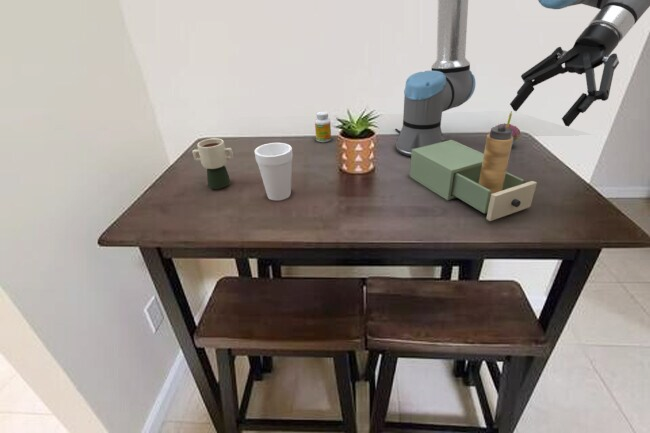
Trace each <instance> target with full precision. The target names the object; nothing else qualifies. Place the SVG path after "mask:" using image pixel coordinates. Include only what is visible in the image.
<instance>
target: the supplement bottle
mask: <svg viewBox="0 0 650 433" xmlns="http://www.w3.org/2000/svg"><path fill="white" fill-rule="evenodd" d="M314 128H315V130H314V131H315V140H316V142H318V143H327V142H328V143H329V142H330V141H331V140H332V132H331V131H332V128H331V119H330V118H329V112H328V111H323V110H322V111H317V112H316V119H315V121H314Z"/></svg>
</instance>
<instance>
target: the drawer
mask: <svg viewBox="0 0 650 433" xmlns="http://www.w3.org/2000/svg"><path fill="white" fill-rule="evenodd" d="M481 167H482V165H480V166H477V167H473V168H470V169H466V170H463V171H459V172H456V173H454V176H453V183H452V190H451V194H452V195H454V196H456V197H457V198H456V199H459V200H461V201H462V202H464V203H466V204H468V205H469V206H471V207H473V208H474V209H475V210H477V211H479V212H481V213H483V214H485V215H486V217H485V218H486V220H487V221H489V222H492V221H494V220H498V219H500V218H504V217H507V216H508V215H513V214H514V213H518V212H521V211H523V210H525V209H529V208H531V206H532V203H533V199H534V194H535V193H536V192H535V191H536V187H537V184H538V183H537V181H534V180H530V181H527V182H525V179H523V178H521V177H519V176H516V175H514V174H512V173H510V172H508V171H506V174H505V179H504V184H503V188H502V191H499V192H496V193H493V194H491V190H489V189H487V188H485V187H483V186H481V185H480V184H478V183H479V178H480V172H481ZM490 195H491V198H490ZM489 200H490V202H489Z"/></svg>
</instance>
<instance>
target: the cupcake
mask: <svg viewBox="0 0 650 433" xmlns="http://www.w3.org/2000/svg"><path fill="white" fill-rule="evenodd" d="M512 116H513V113H512V111H510V113H509V115H508V118H507V122H506V123H499V124H497V125H495V126H494V127H497V126H500V125H504V126H505V127H508V128H510V129H512V136H513V143H512V145H514V143H515V141H516V140H517V139H519V138H520V137H521V130H520V129H519V128H518V126H516V125H513V124H511V121H512V120H511V119H512Z"/></svg>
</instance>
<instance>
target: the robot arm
mask: <svg viewBox="0 0 650 433" xmlns="http://www.w3.org/2000/svg"><path fill="white" fill-rule="evenodd" d="M537 1H538V3H539V5H541V7H543V8H545V9H551V10H562V9H565V8H567V7H573V6H577V5H584V6H588V7H591V8H595V9H598V10H599V11H598V13H597V14H596V15H595V16H594V17H593V18H592V19H591V21H590V22H589V23H588V24H587V26H586V27H585V29H584V30H583V31H582V32H581V34H579V36H578V37H577V38H576V40H575V41H574V44H573V46H572V47H571V48H570V49H568V50H564V49H563V47H562V46H558V47H556V49H554V50H553V51H552V52H551V54H549V55H547V56H546V57H545V58H543V59H542V60H540V61H539V62H538V63H537V64H535V65H534V66H532V67H531V68H529V69H528V70H526V71H525V72H523V73H522V74H521V75H520V78H521V79H522V81H523V84H522V85H521V86H520V87H519V89H518V90H517V92H516V96H515V97H514V98H513V99H512V101H511V102H510V103H509V105H510V107H511V108H512V110H513V112H517V111H519V109H520V108H521V107H522V106H523V104H524V103H525V102H526V100H527V99H528V98H529V97H530V95H531V94H532V93H533V92H534V90H535V86H537V85H540V84H541V83H543V82H546V81H548V80H550V79H552V78H554V77H556V76H558V75H560V74H561V75H564V74H565V73H569V74H570V73H571V74H575V73H576V74H577V75H583V74H585V81H586V82H585V83H586V89H587V90H586V91H587V93H584V92H582V93H581V95H579V97H578V98H577V99H576V100H575V102H574V103H573V104H572V105H571V107H570V108H569V109H568V110H567V111H566V113H565V114H564V115H563V117H561V120H562V122H563V124H564V126H565V127H570V126H571V124H573V122H574V121H575V120H576V119H577V117H578V116H579V115H580V114H581V113H582V114H584V113H585V112H587V111H588V109H589V108H591V106H592V104H594V102H596V101H600V100H601V101H602V102H604V101H607V100H609V96H610V93H611V87H612V83H613V77H614V73H615V70H616V68H617V67H618V65H619V64H620V61H619V57H618V54H617V53H613V52H614V50H615V49H616V48H617V47H618V45H619V43H620V42H622V40H623V39H624V38H626V36H627V35H628V33H629V32H630V31H631V29H632V28H633V27H634V26H635V25H636V23H637V22H638V21H639V20H640V18H642V17H643V15H644V13H645V12H646V11H647V10H648V9H649V8H650V0H537ZM468 14H469V0H437V19H436V20H437V23H436V24H437V25H436V60H435V61H434V63H432V65H431V70H424V71H418V72H415V73H413V74H411V75H409V76H408V77H407V79H406V81H405V86H404V91H403V93H404V98H403V114H402V115H403V116H402V117H403V118H402V127H401V129H400V130H399V129H398V128H395V129H394V130H395V131H396V132H397V133H398V134H399V135H398V137H397V140H396V142H395V150H396V151H397V153H399V154H400V155H402V156H404V157H405V156H406V157H409V158H411V154H412V149H416V148H420V147H424V146H428V145H432V144H436V143H440V142H444V140H445V139H446V135H443V133H442V128H441V127H442V126H441V124H442V118H443V112H446V111H448V110H451V109H454V108H458V107H460V106H461V105H463V104H464V103H466V102H468V101H469V100H470V99H471V98H472V96H473V95H474V92H475V90H476V76H475V75H474V74H473V71H471V63H470V61H469V60H468V59H467V58H466V52H467V51H466V50H467V34H468V33H467V32H468V16H469V15H468ZM563 64H564V67H563ZM602 65H603V69H602V75H601V79H600V84H599V88H598V90H597V84H596V78H595V77H596V74H595V69H596V68H597V67H598V68H599V67H600V66H602Z"/></svg>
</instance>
